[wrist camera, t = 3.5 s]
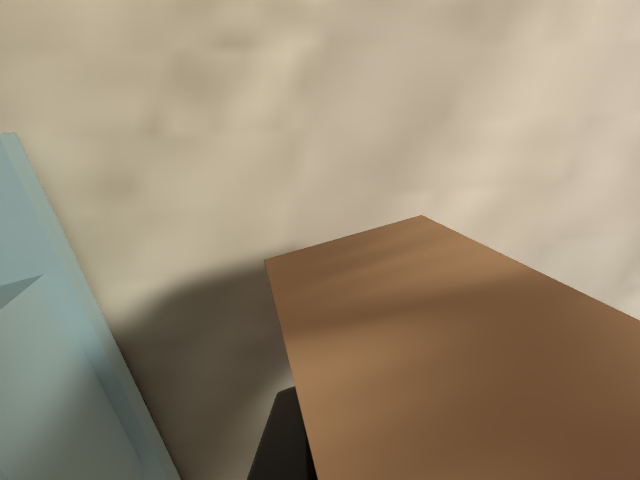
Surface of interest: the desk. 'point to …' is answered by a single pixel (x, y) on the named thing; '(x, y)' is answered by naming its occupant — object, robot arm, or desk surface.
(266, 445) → the robot arm
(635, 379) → the wooden block
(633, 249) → the desk surface
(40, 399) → the carriage
